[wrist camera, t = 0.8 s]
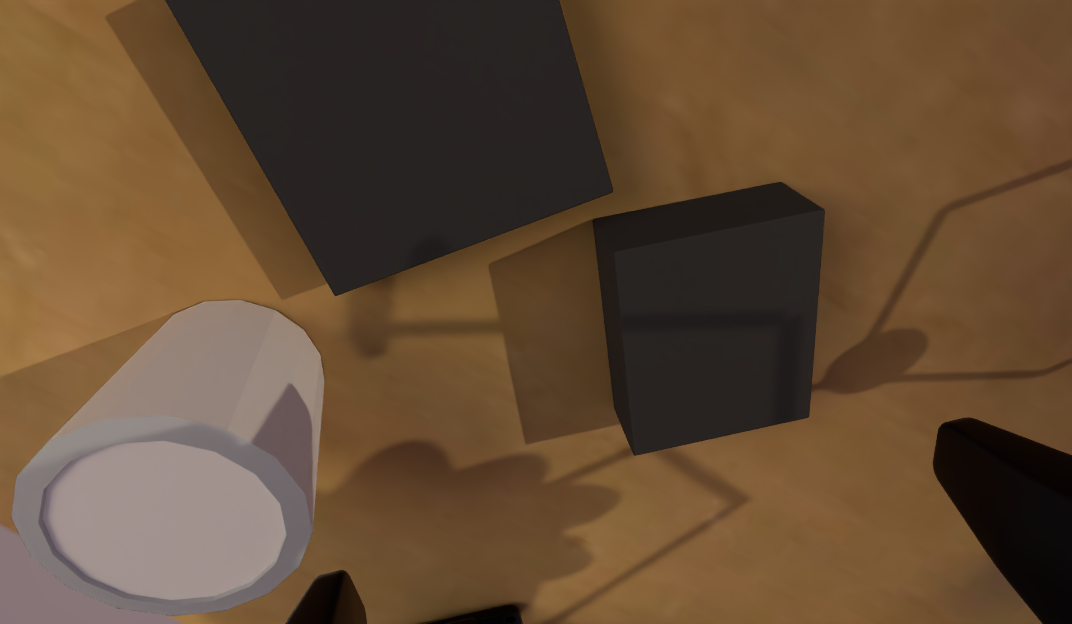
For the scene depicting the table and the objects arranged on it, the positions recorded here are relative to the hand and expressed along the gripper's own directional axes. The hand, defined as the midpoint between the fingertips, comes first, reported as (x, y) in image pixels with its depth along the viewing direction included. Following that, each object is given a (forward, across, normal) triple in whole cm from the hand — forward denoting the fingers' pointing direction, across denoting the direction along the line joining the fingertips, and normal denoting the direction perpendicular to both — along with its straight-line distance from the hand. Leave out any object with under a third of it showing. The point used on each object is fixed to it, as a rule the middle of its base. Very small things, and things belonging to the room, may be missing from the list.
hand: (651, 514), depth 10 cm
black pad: (+13, -5, +5) cm, 15 cm away
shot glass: (+13, +11, +3) cm, 18 cm away
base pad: (+13, +3, -5) cm, 14 cm away
